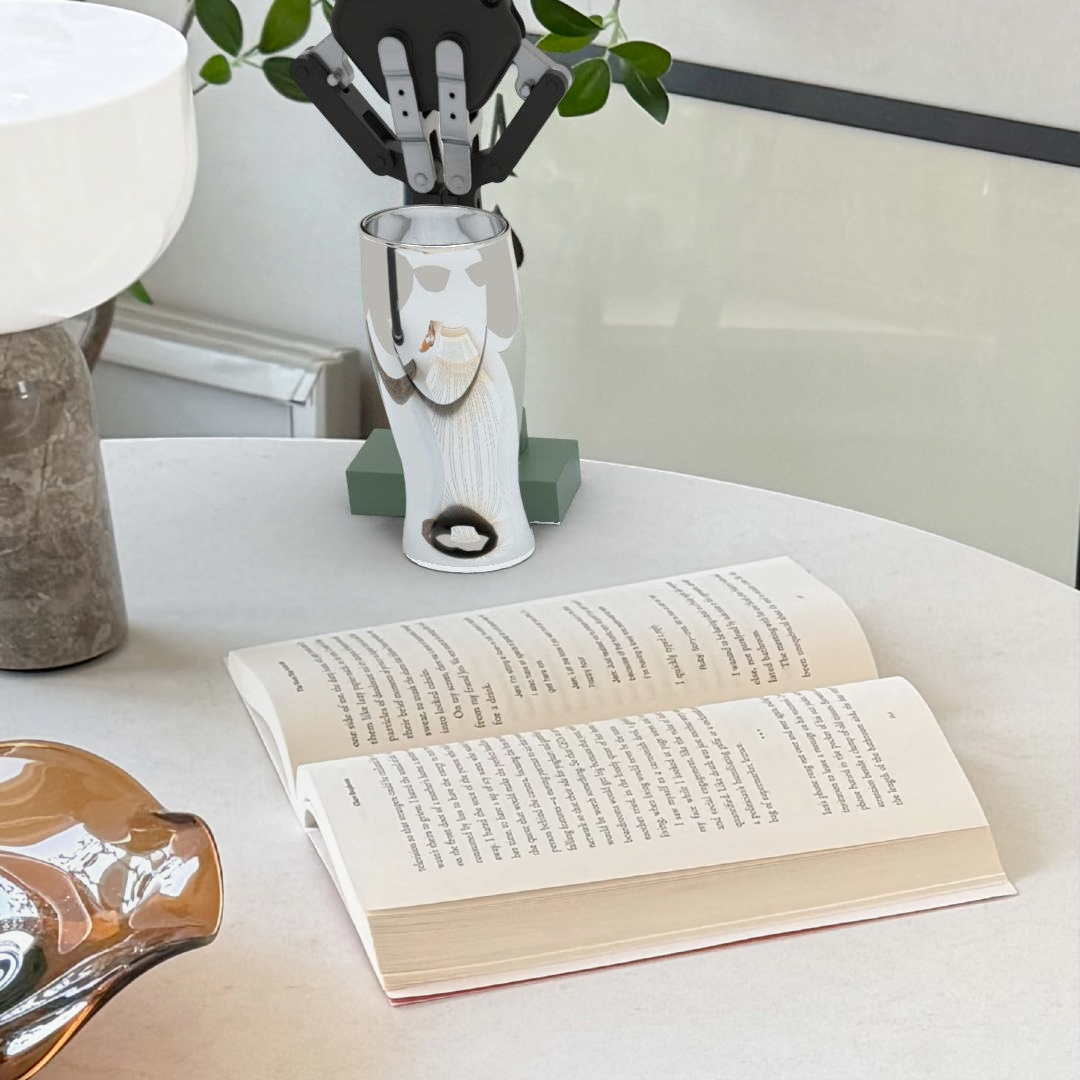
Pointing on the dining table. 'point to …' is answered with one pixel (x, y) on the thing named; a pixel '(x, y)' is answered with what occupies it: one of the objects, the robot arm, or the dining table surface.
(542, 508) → the green block
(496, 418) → the beer glass
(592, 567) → the dining table surface
